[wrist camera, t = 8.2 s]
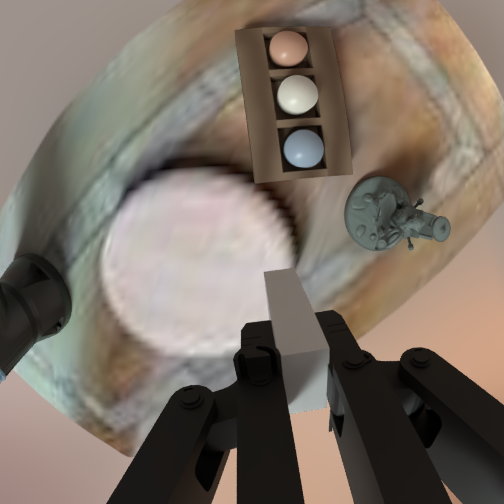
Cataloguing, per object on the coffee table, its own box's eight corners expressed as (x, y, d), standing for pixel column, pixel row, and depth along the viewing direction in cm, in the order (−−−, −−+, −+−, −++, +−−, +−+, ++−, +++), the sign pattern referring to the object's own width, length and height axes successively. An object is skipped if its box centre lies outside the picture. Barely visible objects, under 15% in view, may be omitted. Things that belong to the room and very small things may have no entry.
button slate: (284, 168, 34) (288, 169, 31) (280, 133, 33) (283, 131, 30) (319, 165, 34) (325, 165, 31) (315, 131, 33) (321, 128, 30)
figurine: (352, 167, 36) (395, 172, 25) (415, 186, 37) (467, 198, 25) (336, 242, 39) (370, 274, 28) (398, 254, 40) (442, 285, 29)
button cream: (278, 116, 32) (282, 112, 29) (273, 83, 30) (276, 76, 27) (314, 114, 32) (320, 110, 29) (309, 81, 30) (315, 74, 27)
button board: (254, 181, 36) (255, 183, 33) (235, 40, 30) (234, 30, 27) (343, 173, 36) (353, 174, 33) (323, 37, 30) (329, 27, 27)
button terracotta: (271, 69, 30) (273, 62, 27) (266, 40, 29) (268, 31, 26) (305, 68, 30) (310, 60, 27) (300, 39, 29) (304, 30, 26)
